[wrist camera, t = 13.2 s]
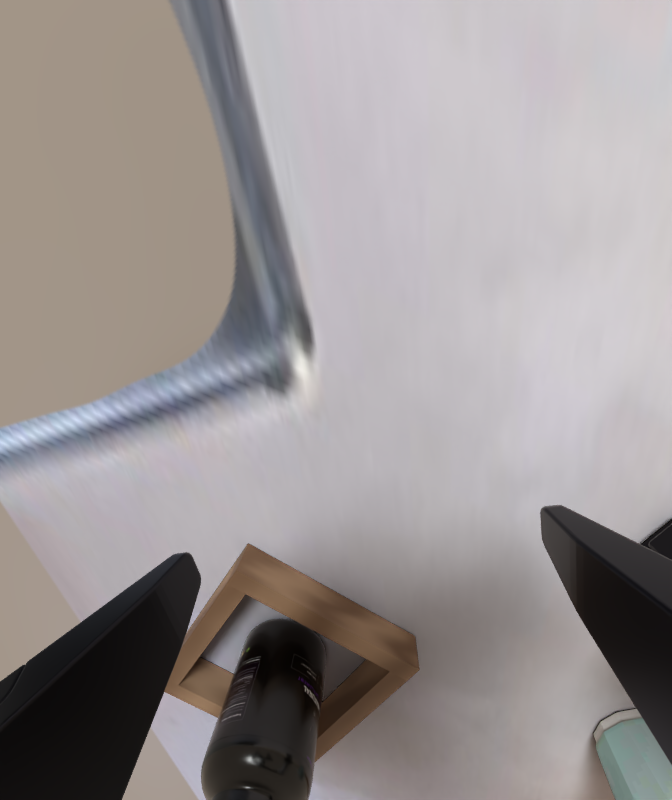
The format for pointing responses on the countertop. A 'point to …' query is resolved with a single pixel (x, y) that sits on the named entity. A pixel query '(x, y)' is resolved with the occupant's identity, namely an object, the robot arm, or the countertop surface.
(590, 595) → the robot arm
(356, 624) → the square wooden frame
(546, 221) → the countertop surface
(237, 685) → the supplement bottle
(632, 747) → the disposable coffee cup
